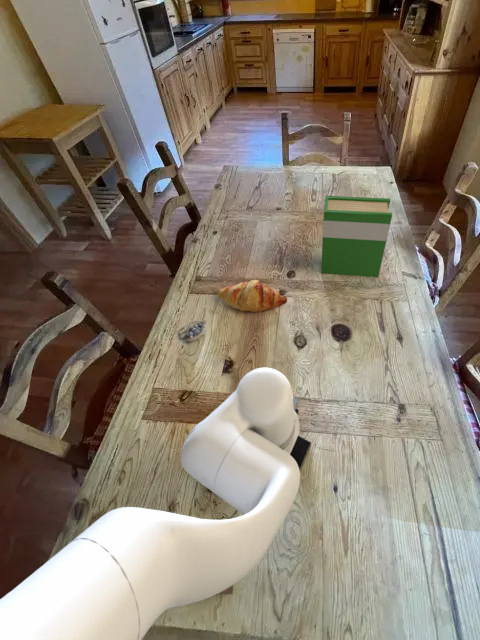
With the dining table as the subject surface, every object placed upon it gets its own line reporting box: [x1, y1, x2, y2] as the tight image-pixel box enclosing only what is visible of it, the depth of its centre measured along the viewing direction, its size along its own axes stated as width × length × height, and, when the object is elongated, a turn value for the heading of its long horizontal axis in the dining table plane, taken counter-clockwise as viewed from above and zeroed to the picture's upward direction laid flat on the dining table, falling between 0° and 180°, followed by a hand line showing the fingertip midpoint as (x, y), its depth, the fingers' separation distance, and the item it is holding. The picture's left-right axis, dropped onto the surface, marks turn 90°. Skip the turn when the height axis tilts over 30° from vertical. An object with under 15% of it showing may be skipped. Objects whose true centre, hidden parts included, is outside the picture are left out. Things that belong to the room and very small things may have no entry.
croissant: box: [216, 279, 288, 313], centre depth 98 cm, size 21×10×8 cm, turn 80°
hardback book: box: [320, 195, 393, 278], centre depth 100 cm, size 18×7×24 cm, turn 83°
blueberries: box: [178, 319, 207, 344], centre depth 93 cm, size 7×8×2 cm
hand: (277, 458), depth 64 cm, fingers open, 9 cm apart
